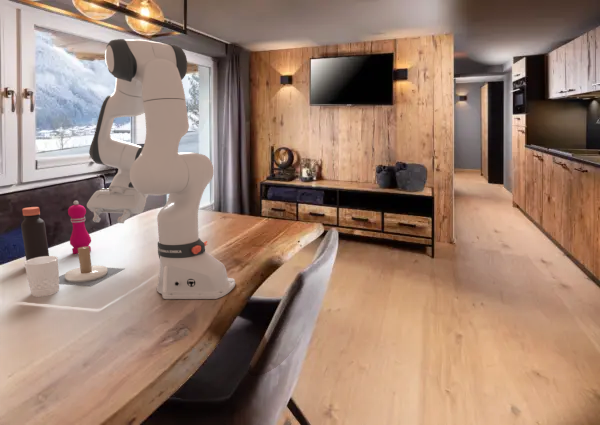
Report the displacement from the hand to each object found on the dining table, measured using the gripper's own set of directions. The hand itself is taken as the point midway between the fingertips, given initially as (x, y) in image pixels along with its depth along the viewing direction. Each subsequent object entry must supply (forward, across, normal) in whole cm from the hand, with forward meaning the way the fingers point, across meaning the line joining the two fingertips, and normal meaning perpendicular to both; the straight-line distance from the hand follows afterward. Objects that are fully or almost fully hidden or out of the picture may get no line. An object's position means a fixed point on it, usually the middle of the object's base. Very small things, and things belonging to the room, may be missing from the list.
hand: (107, 222), depth 138 cm
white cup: (+29, -2, -8) cm, 30 cm away
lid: (+19, 0, +2) cm, 19 cm away
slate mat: (+19, 0, +2) cm, 19 cm away
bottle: (+14, -26, +8) cm, 31 cm away
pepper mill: (+2, -22, +19) cm, 29 cm away
